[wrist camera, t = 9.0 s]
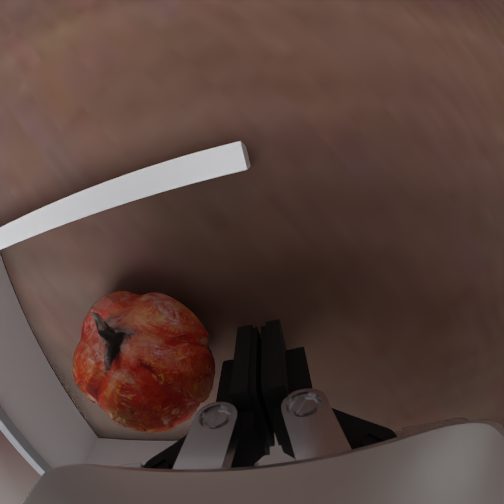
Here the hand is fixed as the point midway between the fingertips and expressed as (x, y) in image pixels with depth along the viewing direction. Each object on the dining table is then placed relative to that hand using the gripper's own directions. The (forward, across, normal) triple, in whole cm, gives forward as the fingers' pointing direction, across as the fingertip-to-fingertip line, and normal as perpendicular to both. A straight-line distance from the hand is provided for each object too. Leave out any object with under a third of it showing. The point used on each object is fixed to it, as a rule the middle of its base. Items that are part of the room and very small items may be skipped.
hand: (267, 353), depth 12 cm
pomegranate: (+2, +5, -1) cm, 5 cm away
